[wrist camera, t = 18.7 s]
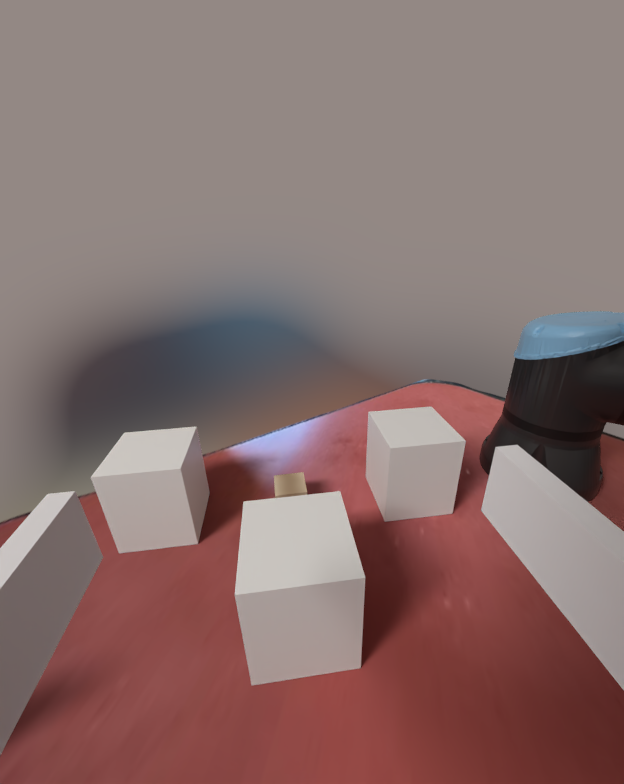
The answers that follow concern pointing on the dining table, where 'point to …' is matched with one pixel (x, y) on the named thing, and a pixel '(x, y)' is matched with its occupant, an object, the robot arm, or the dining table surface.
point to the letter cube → (290, 485)
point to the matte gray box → (154, 489)
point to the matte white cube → (413, 463)
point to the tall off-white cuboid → (299, 588)
